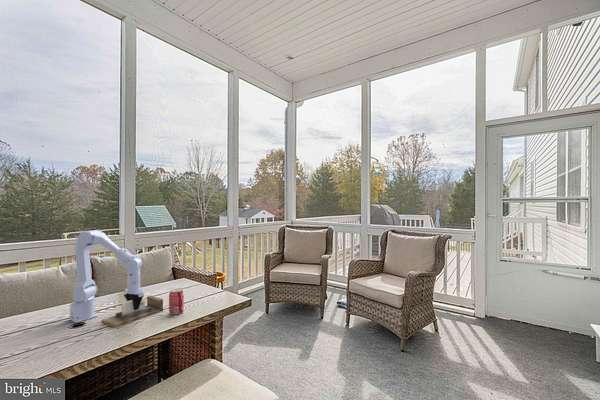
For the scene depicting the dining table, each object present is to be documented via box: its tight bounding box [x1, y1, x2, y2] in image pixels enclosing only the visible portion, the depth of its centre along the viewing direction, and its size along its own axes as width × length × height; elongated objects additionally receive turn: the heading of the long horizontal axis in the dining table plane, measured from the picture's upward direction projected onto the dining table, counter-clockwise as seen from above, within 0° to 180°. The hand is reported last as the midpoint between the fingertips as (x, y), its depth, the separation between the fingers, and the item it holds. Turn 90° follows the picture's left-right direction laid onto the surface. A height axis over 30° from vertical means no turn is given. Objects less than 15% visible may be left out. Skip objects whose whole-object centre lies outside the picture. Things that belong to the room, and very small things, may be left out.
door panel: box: [121, 297, 146, 315], centre depth 142 cm, size 10×4×7 cm, turn 147°
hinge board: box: [101, 295, 164, 329], centre depth 142 cm, size 24×12×6 cm, turn 147°
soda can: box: [168, 288, 185, 316], centre depth 146 cm, size 7×7×12 cm
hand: (133, 308), depth 142 cm, fingers open, 4 cm apart
